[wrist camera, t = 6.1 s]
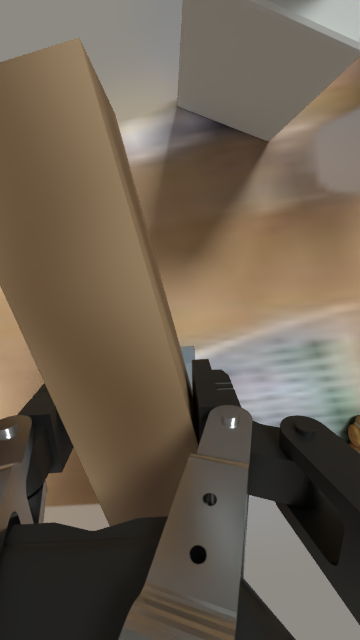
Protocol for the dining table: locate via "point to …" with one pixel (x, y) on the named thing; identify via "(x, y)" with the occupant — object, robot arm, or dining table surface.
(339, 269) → the dining table surface
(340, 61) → the soap bottle
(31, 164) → the walnut bar
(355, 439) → the ornament
